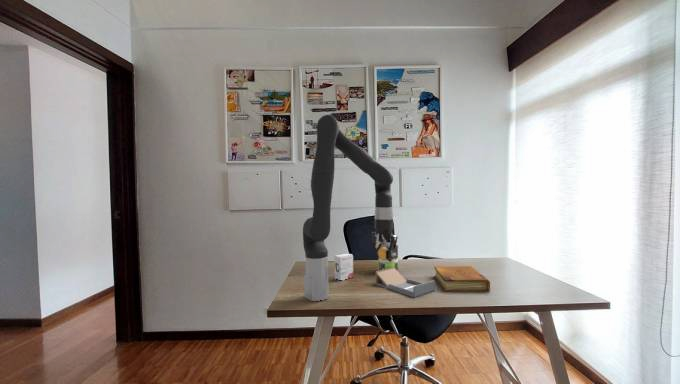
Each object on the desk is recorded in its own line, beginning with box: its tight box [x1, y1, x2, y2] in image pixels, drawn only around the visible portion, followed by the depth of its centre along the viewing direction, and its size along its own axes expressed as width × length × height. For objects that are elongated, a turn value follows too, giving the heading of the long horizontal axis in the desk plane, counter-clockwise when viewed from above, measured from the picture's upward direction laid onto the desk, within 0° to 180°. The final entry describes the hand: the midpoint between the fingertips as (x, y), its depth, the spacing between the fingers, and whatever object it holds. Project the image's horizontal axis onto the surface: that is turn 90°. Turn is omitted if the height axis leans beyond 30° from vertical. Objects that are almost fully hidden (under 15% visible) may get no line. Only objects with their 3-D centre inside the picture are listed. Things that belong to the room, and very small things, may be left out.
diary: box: [433, 265, 491, 293], centre depth 152 cm, size 23×19×6 cm
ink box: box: [334, 253, 354, 281], centre depth 163 cm, size 9×5×12 cm, turn 129°
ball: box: [378, 247, 387, 259], centre depth 139 cm, size 5×5×5 cm
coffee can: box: [378, 243, 399, 272], centre depth 173 cm, size 10×10×14 cm
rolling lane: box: [374, 267, 436, 298], centre depth 148 cm, size 13×24×6 cm, turn 37°
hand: (383, 258), depth 138 cm, fingers closed on ball, 5 cm apart
